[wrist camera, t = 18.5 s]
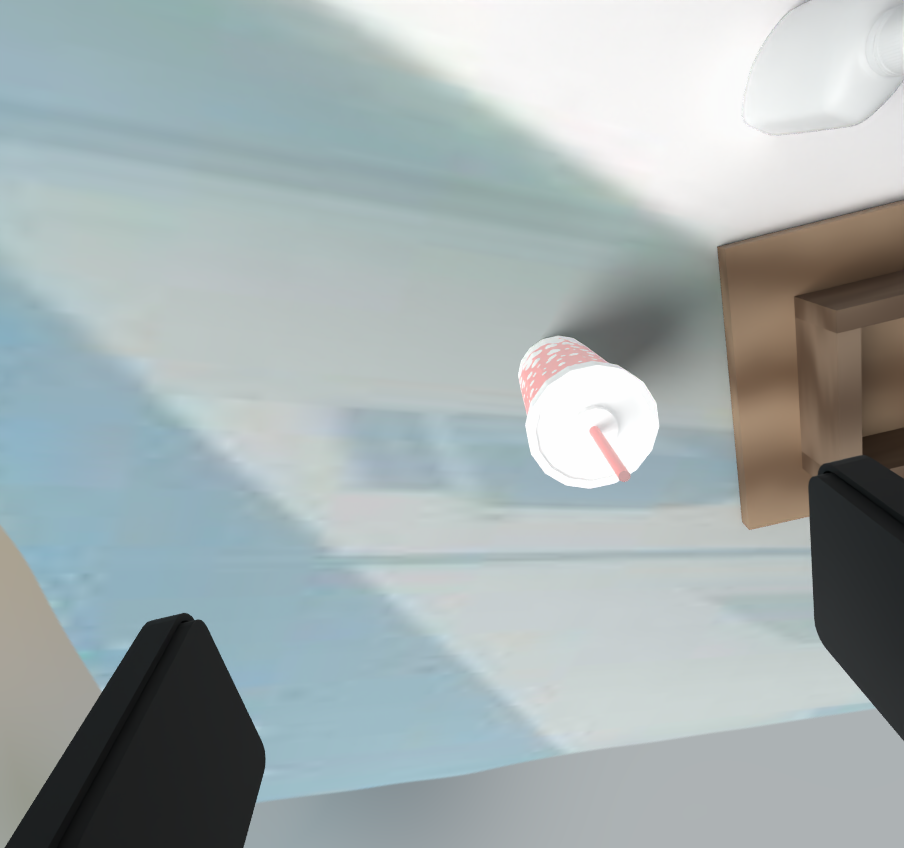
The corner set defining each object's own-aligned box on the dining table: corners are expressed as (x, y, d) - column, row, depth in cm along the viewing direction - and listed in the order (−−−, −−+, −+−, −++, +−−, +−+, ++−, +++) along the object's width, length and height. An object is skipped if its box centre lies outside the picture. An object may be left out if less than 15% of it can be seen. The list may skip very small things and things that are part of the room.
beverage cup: (489, 348, 37) (522, 440, 24) (588, 305, 37) (677, 375, 24) (527, 437, 39) (577, 566, 26) (622, 398, 39) (721, 510, 26)
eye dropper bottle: (850, 68, 33) (1070, 13, 22) (758, 149, 34) (920, 137, 23) (806, -7, 31) (1014, -106, 20) (711, 81, 33) (858, 32, 22)
